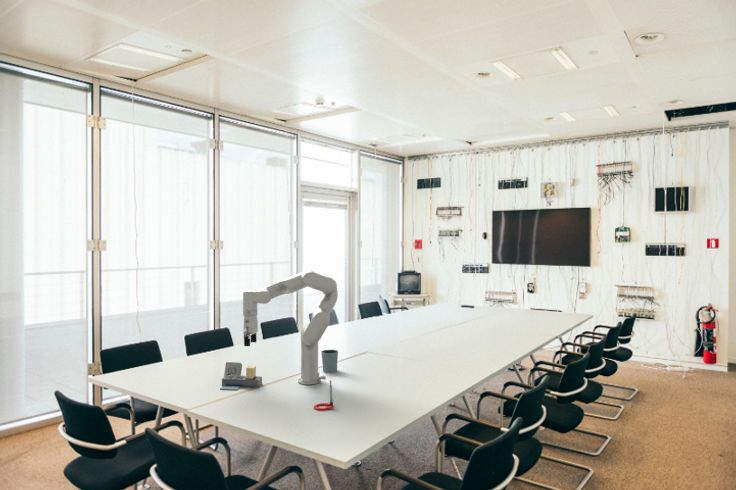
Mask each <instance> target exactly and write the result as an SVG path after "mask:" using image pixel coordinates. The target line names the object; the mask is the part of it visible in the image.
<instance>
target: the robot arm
mask: <svg viewBox="0 0 736 490" xmlns="http://www.w3.org/2000/svg"><path fill="white" fill-rule="evenodd" d="M337 287H338V285H337V282H336V280H335V279H333V278H331V277H329V276H325V275H322V274H320V273H317V272H314V271H313V270H310V269H307V270H304V271H302V272H300V273H297V274H295V275H293V276H290V277H287V278H285V279H283V280H280V281H278V282H275V283H273V284H270V285H268V286H266V287H262V288H261V289H260V290H256V289H245V290H244V291H243V293H242V317H243V346H244V347H250V346H251V343H257V336H258V335H257V333H258V331H259V325H258V324H259V321H258V304H262V305H265V304H268V303H270V302H271V301H272V299H275V298H278V297H279V296H283V295H289V294H293V293H295V292H297V291H300V290H303V289H305V288H311V289H313V290H316V291H319V292H322V296H321V298H320V300H319V301H318V304H317V306H316V307H315V308H314V310H313V312H312V313H311V320H310V321H309V323H308V324H306V325H304V326H303V327H302V328H301V331H300V378H299V379H298V380H297V382H298V383H299V384H301V385H311V386H312V385H317V384H319V383H321V382H322V380H327V379H326V378H327V377H326V375H323V374H320V372H319V341H320V340H321V338H322V337H323V335H324V333H326V330H327V328H328V326H329V325H330V321H331V317H330V314H331V313H332V311H333V309H334V307H335V306H336V303H337V301H338V296H339V295H338V292H339V291H338V288H337Z"/></svg>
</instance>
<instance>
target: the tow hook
mask: <svg viewBox="0 0 736 490" xmlns="http://www.w3.org/2000/svg"><path fill="white" fill-rule="evenodd" d="M323 406H325V407H323ZM313 409H314V410H315V411H328V410H331V411H333V410H334V398H333V384H332V380H329V402H326V403H325V402H322V403H316V404H314V405H313Z"/></svg>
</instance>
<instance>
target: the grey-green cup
mask: <svg viewBox="0 0 736 490" xmlns="http://www.w3.org/2000/svg"><path fill="white" fill-rule="evenodd" d="M338 356H339V350H336V349H324V350H321V361H322V372H323V373H326V374H329V373H330V374H331V373H333V374H334V373H336V372H338V358H339V357H338Z"/></svg>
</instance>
